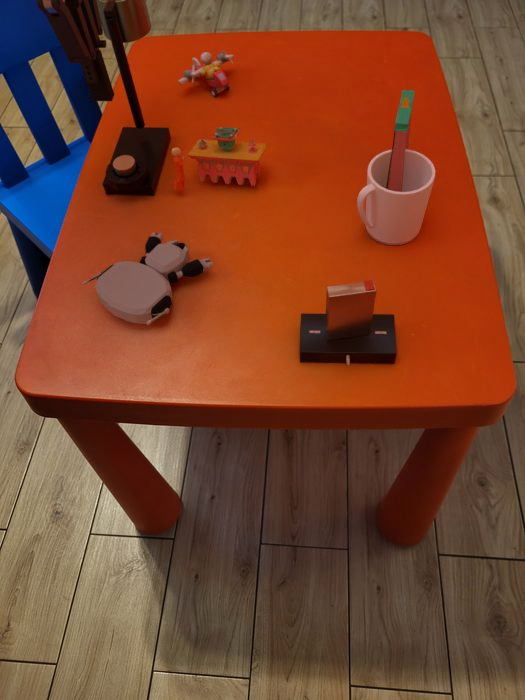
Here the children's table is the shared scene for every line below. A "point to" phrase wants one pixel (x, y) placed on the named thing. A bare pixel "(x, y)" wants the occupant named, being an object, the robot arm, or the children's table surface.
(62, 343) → the children's table surface
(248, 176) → the building blocks
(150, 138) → the lamp base
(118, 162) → the lamp switch
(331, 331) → the small card box
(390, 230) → the mug
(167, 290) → the robot toy
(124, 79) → the lamp
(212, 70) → the toy airplane
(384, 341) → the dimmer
